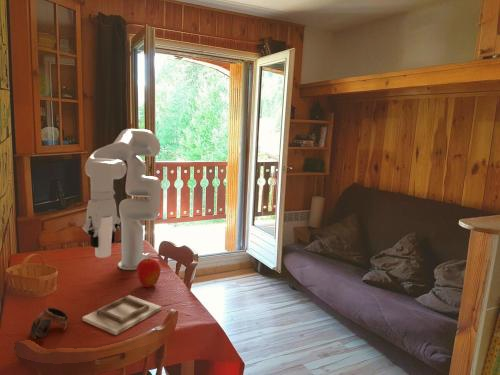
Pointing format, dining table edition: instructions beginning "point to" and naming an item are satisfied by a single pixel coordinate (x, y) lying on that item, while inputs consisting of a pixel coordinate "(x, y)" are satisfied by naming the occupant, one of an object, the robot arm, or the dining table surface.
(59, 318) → the pottery mug
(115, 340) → the dining table surface
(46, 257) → the dining table surface
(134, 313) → the locating board
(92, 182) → the robot arm
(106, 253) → the drinking glass
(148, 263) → the apple
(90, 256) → the dining table surface
